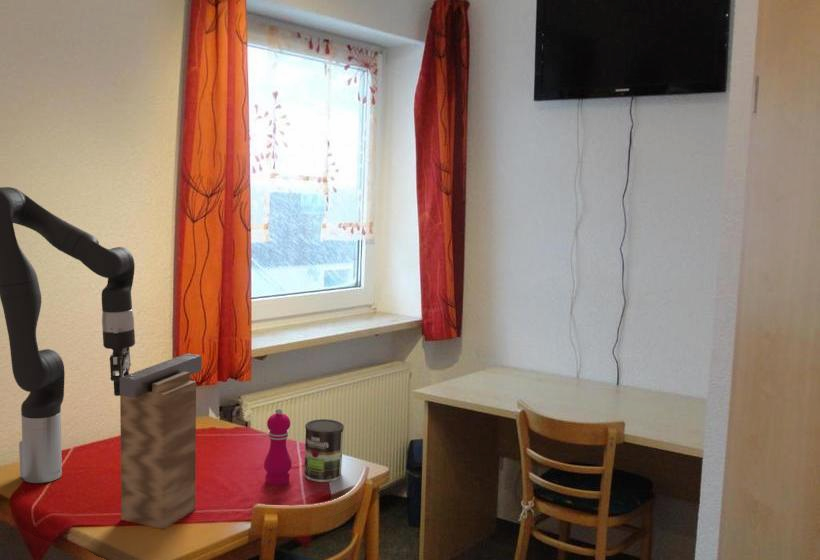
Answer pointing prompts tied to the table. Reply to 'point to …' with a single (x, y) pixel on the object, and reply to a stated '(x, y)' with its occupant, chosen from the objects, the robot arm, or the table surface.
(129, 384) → the lever bar
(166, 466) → the walnut stand
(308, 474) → the coffee can
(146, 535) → the table surface
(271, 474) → the pepper mill
